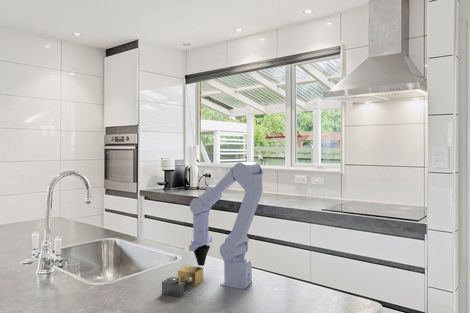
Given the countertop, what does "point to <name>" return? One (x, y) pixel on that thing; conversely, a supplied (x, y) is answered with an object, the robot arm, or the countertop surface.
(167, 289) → the coupler
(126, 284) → the countertop surface
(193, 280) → the coupler lock
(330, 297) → the countertop surface
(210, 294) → the countertop surface
